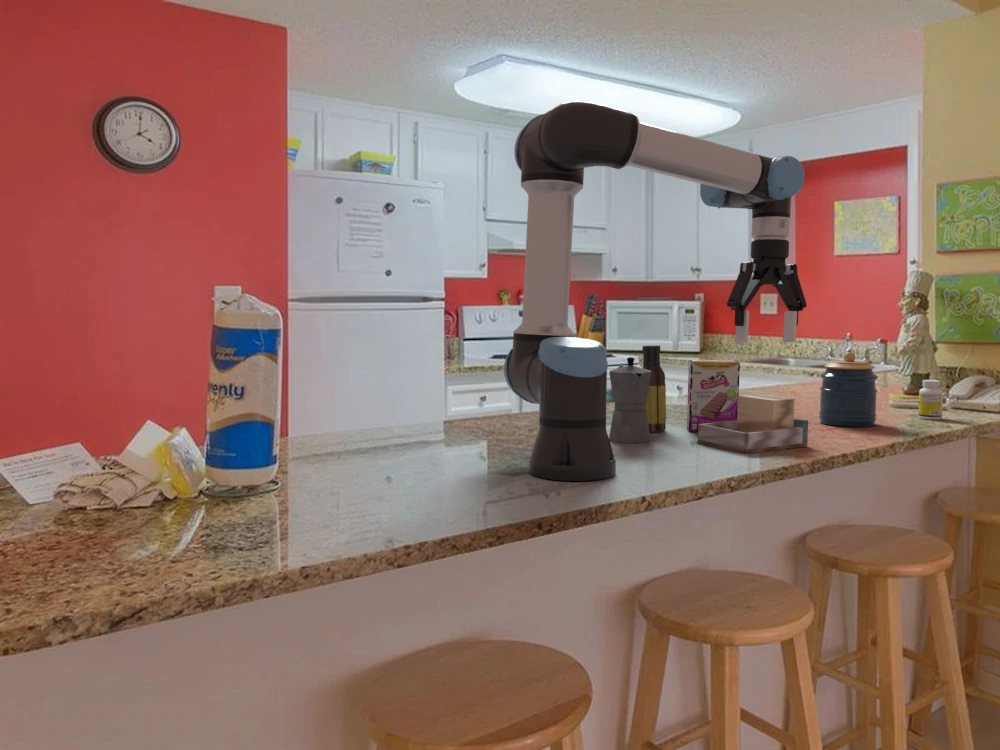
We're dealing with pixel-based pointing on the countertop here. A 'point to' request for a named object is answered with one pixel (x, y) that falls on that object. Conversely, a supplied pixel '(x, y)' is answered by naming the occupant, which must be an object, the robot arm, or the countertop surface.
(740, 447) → the grey open tray
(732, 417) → the candy bar box
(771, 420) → the tan rectangular block
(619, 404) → the coffeepot
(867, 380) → the canister
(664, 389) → the sauce bottle
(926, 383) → the supplement bottle
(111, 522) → the countertop surface
